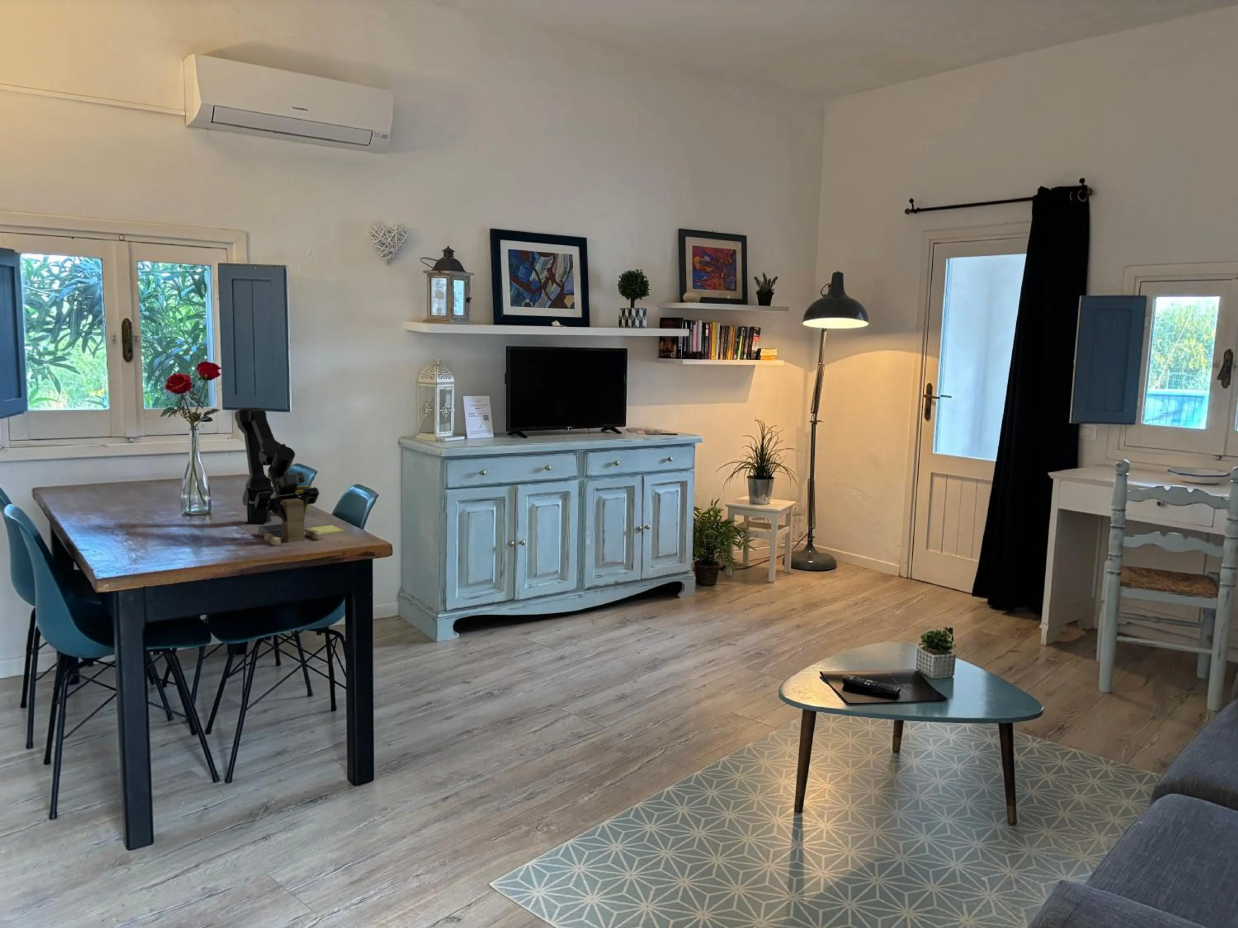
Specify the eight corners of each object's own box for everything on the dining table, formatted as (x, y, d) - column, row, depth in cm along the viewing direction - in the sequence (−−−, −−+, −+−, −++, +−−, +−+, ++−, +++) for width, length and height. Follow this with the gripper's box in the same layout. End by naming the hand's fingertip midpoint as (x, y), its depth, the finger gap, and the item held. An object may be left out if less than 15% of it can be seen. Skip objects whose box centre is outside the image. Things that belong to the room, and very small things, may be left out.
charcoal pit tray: (258, 533, 287) (258, 526, 286) (286, 530, 293) (286, 523, 292) (268, 539, 280) (267, 531, 280) (296, 535, 286) (296, 527, 285)
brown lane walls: (264, 539, 279) (264, 533, 278) (310, 534, 288) (310, 528, 288) (275, 545, 271) (275, 539, 271) (322, 539, 280) (322, 533, 280)
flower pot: (283, 515, 317) (282, 490, 316) (287, 510, 325) (286, 486, 324) (309, 515, 319) (308, 490, 317) (312, 510, 327) (312, 486, 326)
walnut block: (282, 539, 280) (281, 500, 278) (298, 537, 283) (297, 498, 281) (288, 542, 276) (287, 502, 274) (304, 540, 279) (303, 500, 277)
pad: (305, 530, 293) (305, 528, 293) (332, 526, 299) (332, 525, 299) (315, 535, 287) (315, 533, 287) (343, 531, 292) (343, 529, 292)
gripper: (255, 466, 273) (269, 507, 266) (316, 462, 285) (330, 501, 278) (248, 488, 280) (261, 529, 273) (307, 483, 292) (321, 522, 285)
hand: (294, 519), depth 277 cm, fingers closed on walnut block, 5 cm apart
